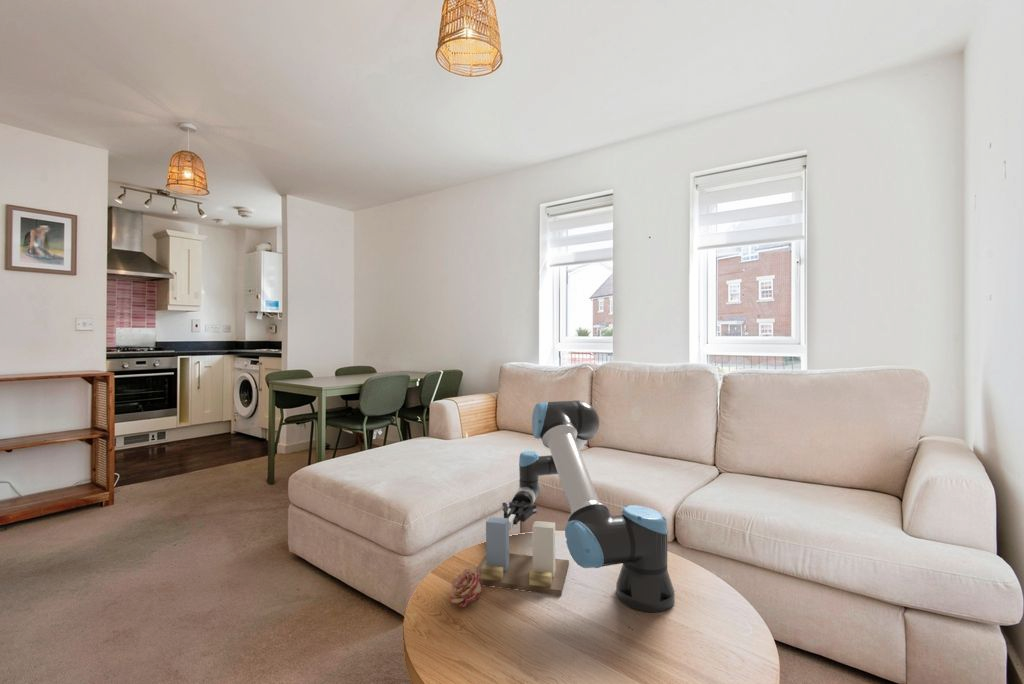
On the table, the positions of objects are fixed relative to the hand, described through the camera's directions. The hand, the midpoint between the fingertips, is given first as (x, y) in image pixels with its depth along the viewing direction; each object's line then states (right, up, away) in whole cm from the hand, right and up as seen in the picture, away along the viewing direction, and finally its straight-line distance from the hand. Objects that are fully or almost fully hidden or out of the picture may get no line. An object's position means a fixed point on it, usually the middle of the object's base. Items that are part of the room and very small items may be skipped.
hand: (508, 526), depth 149 cm
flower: (-11, -9, -29) cm, 32 cm away
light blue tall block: (-3, -7, -13) cm, 15 cm away
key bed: (+4, -8, -14) cm, 17 cm away
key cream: (+11, -7, -17) cm, 21 cm away
